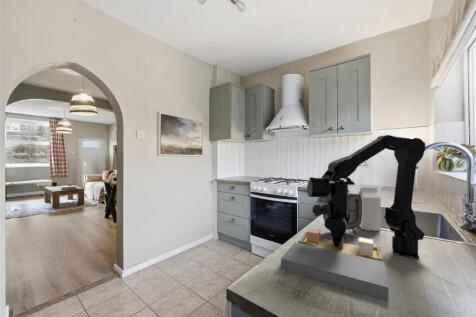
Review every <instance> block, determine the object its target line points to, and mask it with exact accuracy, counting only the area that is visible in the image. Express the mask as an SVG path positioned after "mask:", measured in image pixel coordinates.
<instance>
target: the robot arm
mask: <svg viewBox="0 0 476 317" xmlns="http://www.w3.org/2000/svg"><path fill="white" fill-rule="evenodd" d="M385 150H388V151H389V150H390V151H393V152H394V153H393V154H394V158H395V160H396V162H397V169H396V170H397V171H396V177H395V178H396V179H395V180H396V181H395V188H394V196H393V203H392V205H391V206H390V207H385V212H384V213H385V215H384V217H383V219H385V223H386V225H387V226H388V227H389V230H390V232H393V235H392V236H391V248H392V250H393V253H394V254H396V255H399V256H400V255H401V256H405V257H410V258H414V259H420V255H419V241H423V239H424V237H425V236H426V234H425V232H423V230H421V229H420V228H419V227H418V226H417V218H416V217H417V216H416V214H415V212H414V210H413V207H412V204H413V195H414V187H415V186H414V184H415V180H416V170H417V165H418V163H419V162H420V161H421V160H422V159H423V157H424V153H425V151H426V142H425V141H423V140H422V139H421V138H420V137H419V138H418V137H409V138H408V137H402V136H401V137H400V136H394V135H391V134H385V135H380V136H377V138H375V139H374V140H372V141H370V142H369V143H367V144H366V145H364V146H363V147H361V148H359V149H357V150H356V151H354V152H353V153H351V154H350V155H347V156H344V157H341V158H337V159H336V160H332V161H331V162H330V163H329V164H328V165H327V170H326V171H325V172H324V174H323V175H322V176H321V177H313V176H311V177H310V176H309V180H308V182H307V185H306V191H307V192H306V193H307V196H308V197H309V198H324V197H327V196H328V195H330V199H329V201H328V203H324V204H323V203H318V204H314V206H312V208H311V209H312V213H313V215H314V217H319V216H321V215H322V216H323V214H327V215H328V216H329V217H327V218H326V219H325V221H324V227H325V229H327V230H329V232H330V233H331V239H332V238H333V242H334V246H335V247H338V246H339V244H340V242H341V240H342V238H343V236H344V237H345V235H346V234H345V233H346V232H347V230H346V229H347V224H348V222H349V219H350V211H349V210H348V193H349V192H348V190H349V186H353V185H355V184H356V183H355V182H354V181H353V180H352V179H351V178H350V176H351V175H352V174H353V173H354V172H355V171H356V170H357V169H358V167H359V166H360V165H361V164H363V163H365V162H366V161H368V160H369V159H371V158H373V157H374V156H376V155H378V154H379V153H381V152H382V151H385ZM347 217H348V218H347Z"/></svg>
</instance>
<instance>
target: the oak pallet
mask: <svg viewBox="0 0 476 317" xmlns="http://www.w3.org/2000/svg"><path fill="white" fill-rule="evenodd" d="M344 237H345V235H344V236H343V238H342V240H341V242H340V244H339V246H338V247H335V246H334V242H333V238H332V237H331V239H326V238H322V235H320V242H319V244H318V245H317V244H314V243H309V242H307V232H304V233H303V235H302V236H301V237H299V239H298V240H297V241H298V242H297V243H301V244H305V245H310V246H314V247H319V248H324V249H328V250H333V251H337V252H342V253H346V254H351V255H355V256H360V257H364V258H369V259H373V260H378V261H382V262H383V255H382V249H381V246H377V245H373V256H370V255H365V254H360V253H359V254H358V250H359V244H358V245H357V244H351V243H346V242H344V239H345V238H344Z"/></svg>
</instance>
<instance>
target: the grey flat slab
mask: <svg viewBox="0 0 476 317" xmlns="http://www.w3.org/2000/svg"><path fill="white" fill-rule="evenodd" d="M280 269H282V270H285V271H289V272H292V273H296V274H297V275H298V274H299V275H301V276H305V277H308V278H312V279H315V280H319V281H322V282H324V283H325V282H326V283H328V284H332V285H336V286H339V287H342V288H345V289H349V290H352V291H355V292H359V293H362V294H366V295H369V296H372V297H376V298H379V299H383V300H386V301H389V282H388V275H387V268H386V262H385V261H383V260H382V261H378V260H373V259H369V258H364V257H360V256H355V255H351V254H346V253H342V252H337V251H333V250H328V249H324V248H319V247H314V246H310V245H305V244H301V243H298V242H296V241H294V242H293V244H291V246H290V247H289V248H288V249H287V251H286V252H285V253H284V254H283V255H282V256H281V258H280Z"/></svg>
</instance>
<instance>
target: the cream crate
mask: <svg viewBox="0 0 476 317" xmlns="http://www.w3.org/2000/svg"><path fill="white" fill-rule="evenodd" d="M358 246H359V250H358V254H359V253H360V254H365V255H370V256H373V246H374V239H370V238H365V237H361V236H359V237H358Z"/></svg>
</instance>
